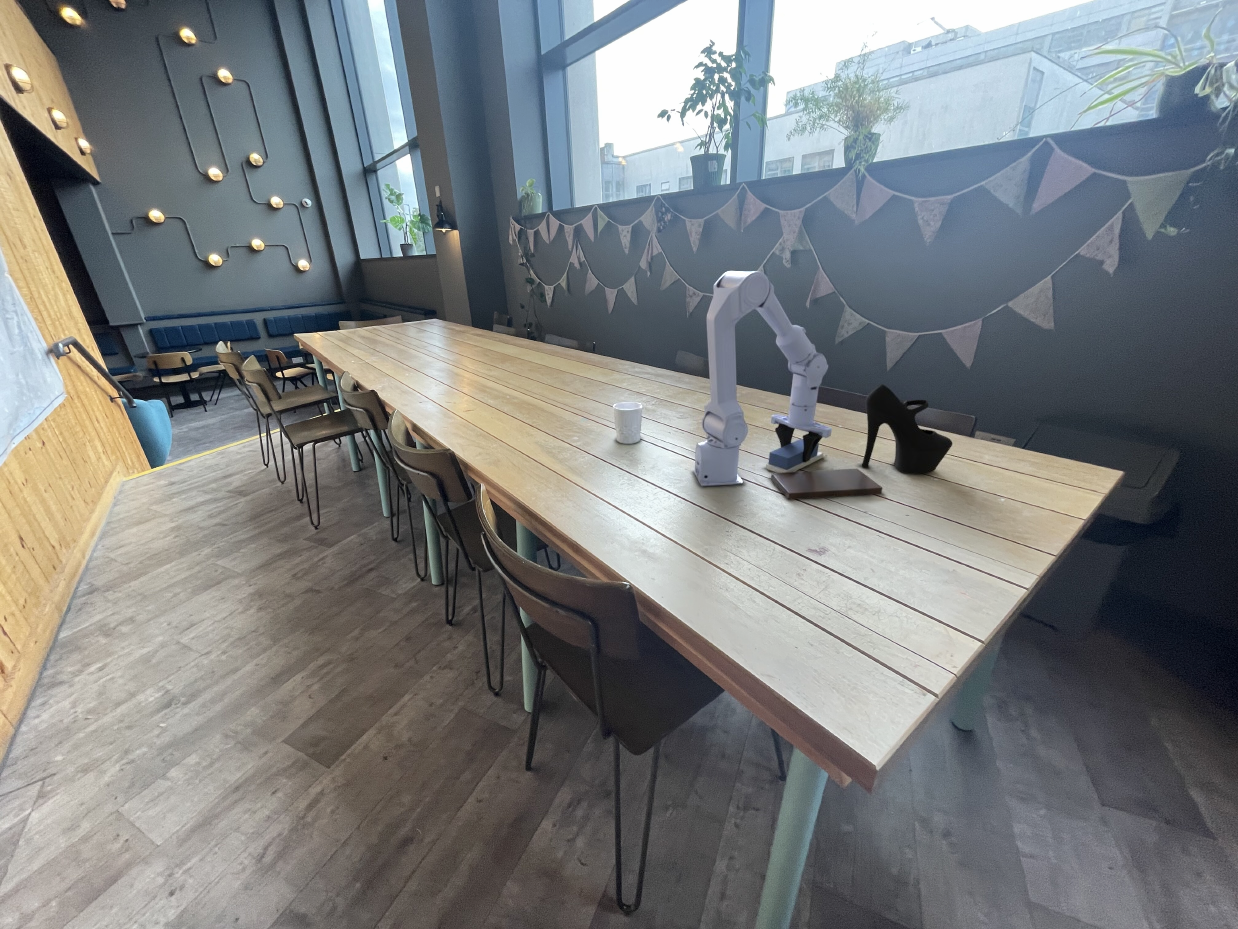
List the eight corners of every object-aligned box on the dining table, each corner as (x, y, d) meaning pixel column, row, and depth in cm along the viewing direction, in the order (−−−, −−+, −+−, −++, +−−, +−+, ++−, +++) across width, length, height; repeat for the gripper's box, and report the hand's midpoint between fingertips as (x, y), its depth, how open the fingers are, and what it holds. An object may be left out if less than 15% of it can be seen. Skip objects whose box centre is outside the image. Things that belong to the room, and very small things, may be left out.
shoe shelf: (788, 499, 98) (789, 493, 97) (770, 479, 107) (771, 473, 106) (881, 494, 98) (882, 487, 98) (856, 474, 108) (857, 468, 107)
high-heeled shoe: (949, 477, 105) (974, 389, 97) (857, 472, 108) (874, 388, 100) (935, 463, 112) (957, 380, 104) (849, 459, 115) (864, 379, 107)
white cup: (642, 444, 129) (642, 409, 125) (614, 445, 129) (612, 410, 125) (642, 434, 136) (641, 401, 132) (615, 435, 136) (613, 401, 132)
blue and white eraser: (785, 475, 108) (788, 459, 106) (765, 468, 112) (767, 452, 110) (822, 457, 117) (825, 441, 115) (802, 451, 121) (805, 436, 119)
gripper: (842, 406, 105) (832, 461, 111) (785, 394, 116) (779, 445, 121) (825, 413, 101) (816, 470, 107) (768, 400, 112) (762, 452, 117)
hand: (795, 457), depth 114 cm, fingers closed on blue and white eraser, 5 cm apart
